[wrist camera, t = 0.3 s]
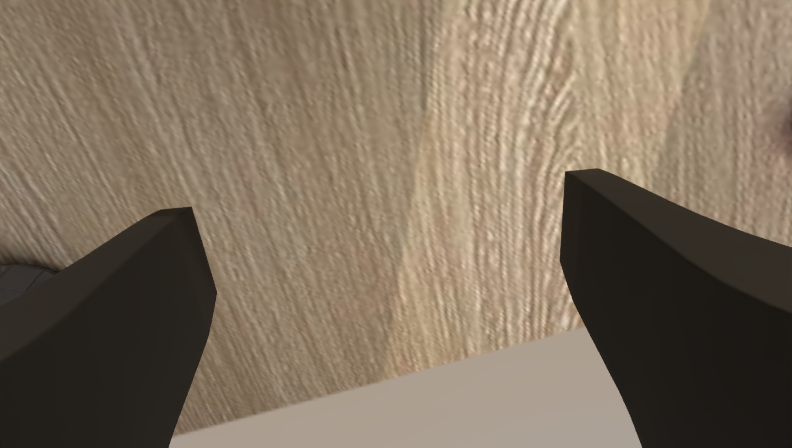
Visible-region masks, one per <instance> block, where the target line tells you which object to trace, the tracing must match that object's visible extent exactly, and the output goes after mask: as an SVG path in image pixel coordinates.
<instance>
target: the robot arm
mask: <svg viewBox="0 0 792 448" xmlns="http://www.w3.org/2000/svg"><path fill="white" fill-rule="evenodd" d="M560 263H561V266H562V270H563V273H564V276H565V279H566V282H567V285H568V288H569V291H570V294H571V296H572V299H573V302H574V304H575V306H576V308H577V310H578V312H579V314H580V316H581V318H582V320H583V322H584V324H585V326H586V328H587V330H588V332H589V334H590V336H591V338H592V340H593V342H594V344H595V345H596V348H597V350H598V351H599V353H600V355H601V357H602V359H603V361H604V363H605V365H606V367H607V369H608V371H609V373H610V375H611V377H612V379H613V380H614V382H615V384H616V386H617V388H618V390H619V392H620V394H621V396H622V399H623V401H624V403H625V405H626V407H627V409H628V412H629V414H630V417H631V419H632V422H633V424H634V427H635V430H636V432H637V435H638V438H639V440H640V443H641V445H642V448H792V247H788V246H785V245H782V244H779V243H776V242H773V241H770V240H767V239H764V238H761V237H757V236H754V235H751V234H748V233H746V232H743V231H740V230H737V229H735V228H732V227H729V226H727V225H724V224H722V223H720V222H717V221H715V220H712V219H710V218H707V217H705V216H702V215H700V214H698V213H695V212H693V211H691V210H688V209H686V208H684V207H682V206H679V205H677V204H675V203H673V202H671V201H669V200H667V199H664V198H662V197H660V196H658V195H656V194H654V193H652V192H650V191H648V190H646V189H644V188H641V187H639V186H637V185H635V184H633V183H631V182H629V181H627V180H625V179H623V178H620V177H618V176H616V175H614V174H611V173H609V172H606V171H604V170H601V169H586V170H576V171H565V183H564V199H563V216H562V232H561V248H560ZM216 296H217V291H216V287H215V284H214V280H213V277H212V274H211V270H210V267H209V264H208V260H207V257H206V253H205V250H204V247H203V243H202V240H201V237H200V233H199V230H198V227H197V223H196V220H195V216H194V213H193V210H192V207H183V208H173V209H162V210H159V211H156V212H154V213H152V214H150V215H148V216H147V217H145V218H143V219H142V220H140V221H138V222H137V223H135V224H133V225H132V226H130V227H129V228H127V229H126V230H124V231H123V232H121V233H120V234H118V235H116V236H115V237H113V238H112V239H110V240H109V241H107V242H106V243H104V244H103V245H101V246H100V247H98V248H97V249H95V250H94V251H92V252H91V253H89V254H88V255H86V256H84V257H83V258H81V259H80V260H78V261H77V262H75V263H73V264H72V265H70V266H68V267H67V268H65V269H63V270H62V271H60V272H59V273H57V274H55V275H54V276H52V277H50V278H49V279H47V280H45V281H44V282H42V283H40V284H39V285H37V286H36V287H34V288H32V289H30V290H29V291H27V292H25V293H23V294H22V295H20V296H18V297H16V298H14V299H12V300H10V301H9V302H7V303H5V304H3V305H1V306H0V448H169V444H170V441H171V438H172V435H173V432H174V429H175V426H176V424H177V421H178V418H179V416H180V413H181V410H182V408H183V405H184V402H185V399H186V397H187V394H188V391H189V389H190V386H191V383H192V381H193V378H194V375H195V372H196V370H197V367H198V364H199V361H200V359H201V356H202V353H203V350H204V347H205V345H206V342H207V339H208V336H209V332H210V327H211V322H212V318H213V312H214V307H215V301H216Z"/></svg>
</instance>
